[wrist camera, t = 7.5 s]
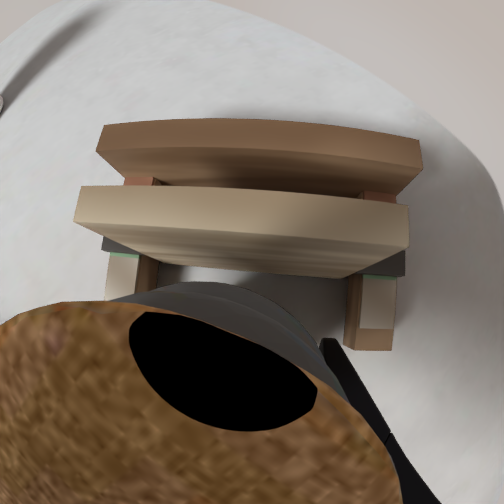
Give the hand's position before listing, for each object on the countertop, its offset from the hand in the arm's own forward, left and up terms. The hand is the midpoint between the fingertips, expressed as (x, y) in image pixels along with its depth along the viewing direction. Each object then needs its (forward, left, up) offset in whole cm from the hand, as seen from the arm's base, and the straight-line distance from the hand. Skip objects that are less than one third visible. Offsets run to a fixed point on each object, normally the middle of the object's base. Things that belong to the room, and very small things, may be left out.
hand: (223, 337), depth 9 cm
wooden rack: (+3, +2, -8) cm, 9 cm away
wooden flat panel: (+2, +2, -8) cm, 9 cm away
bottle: (-2, 0, -8) cm, 8 cm away
